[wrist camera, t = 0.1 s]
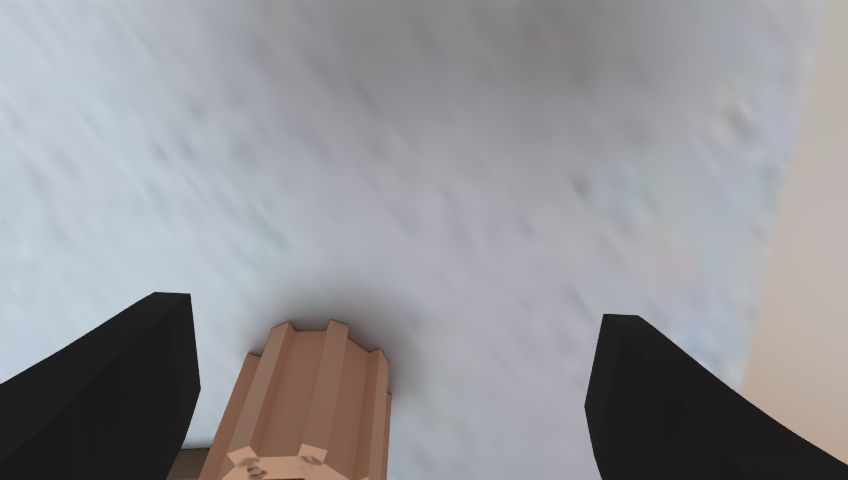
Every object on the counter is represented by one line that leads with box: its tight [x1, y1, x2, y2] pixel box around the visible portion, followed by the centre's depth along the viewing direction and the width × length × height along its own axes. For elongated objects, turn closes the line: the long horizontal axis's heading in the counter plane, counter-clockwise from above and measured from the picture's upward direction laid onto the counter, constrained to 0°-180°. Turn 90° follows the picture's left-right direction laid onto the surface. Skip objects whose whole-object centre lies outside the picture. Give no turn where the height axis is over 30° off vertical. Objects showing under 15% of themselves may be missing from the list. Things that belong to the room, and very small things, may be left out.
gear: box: [198, 320, 392, 480], centre depth 22 cm, size 5×5×6 cm
